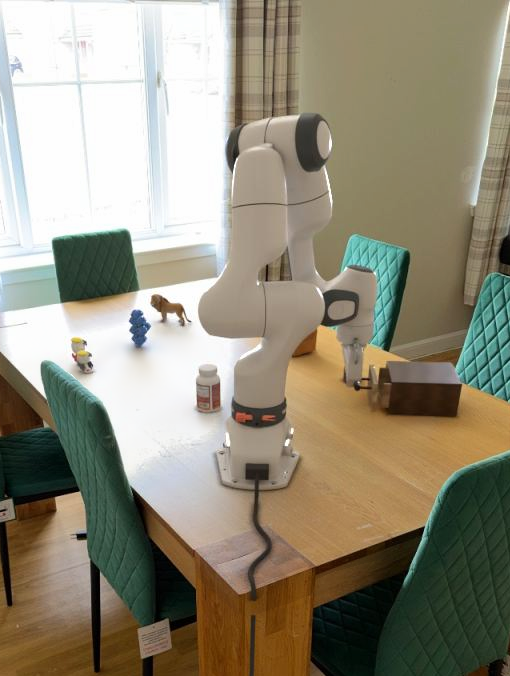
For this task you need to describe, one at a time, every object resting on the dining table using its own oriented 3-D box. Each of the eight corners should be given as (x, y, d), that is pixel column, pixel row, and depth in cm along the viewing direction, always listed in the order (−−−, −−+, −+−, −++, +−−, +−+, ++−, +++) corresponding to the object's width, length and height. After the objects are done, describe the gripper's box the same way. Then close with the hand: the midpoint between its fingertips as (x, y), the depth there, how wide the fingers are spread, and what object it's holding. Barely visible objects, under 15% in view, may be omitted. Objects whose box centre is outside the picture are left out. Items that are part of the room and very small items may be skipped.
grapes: (158, 350, 230) (157, 311, 223) (138, 353, 227) (135, 314, 221) (145, 338, 239) (143, 301, 232) (126, 341, 236) (123, 304, 230)
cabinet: (388, 414, 187) (392, 381, 182) (382, 392, 199) (386, 360, 195) (456, 417, 185) (462, 384, 180) (446, 394, 198) (452, 362, 193)
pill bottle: (217, 402, 195) (216, 361, 189) (223, 411, 190) (223, 370, 184) (194, 404, 193) (193, 364, 188) (199, 414, 188) (199, 372, 183)
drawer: (353, 409, 188) (356, 383, 184) (350, 388, 199) (352, 364, 195) (433, 411, 186) (438, 386, 182) (426, 390, 197) (430, 366, 194)
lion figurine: (148, 322, 254) (147, 295, 249) (155, 317, 258) (153, 291, 253) (188, 326, 249) (188, 299, 245) (194, 321, 254) (193, 295, 249)
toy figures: (95, 373, 213) (92, 345, 209) (80, 375, 212) (77, 347, 208) (84, 359, 223) (81, 332, 218) (70, 362, 221) (67, 334, 217)
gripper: (371, 347, 175) (365, 401, 183) (364, 320, 193) (359, 370, 200) (344, 346, 176) (339, 400, 183) (340, 319, 193) (335, 370, 200)
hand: (349, 384), depth 192 cm, fingers closed
